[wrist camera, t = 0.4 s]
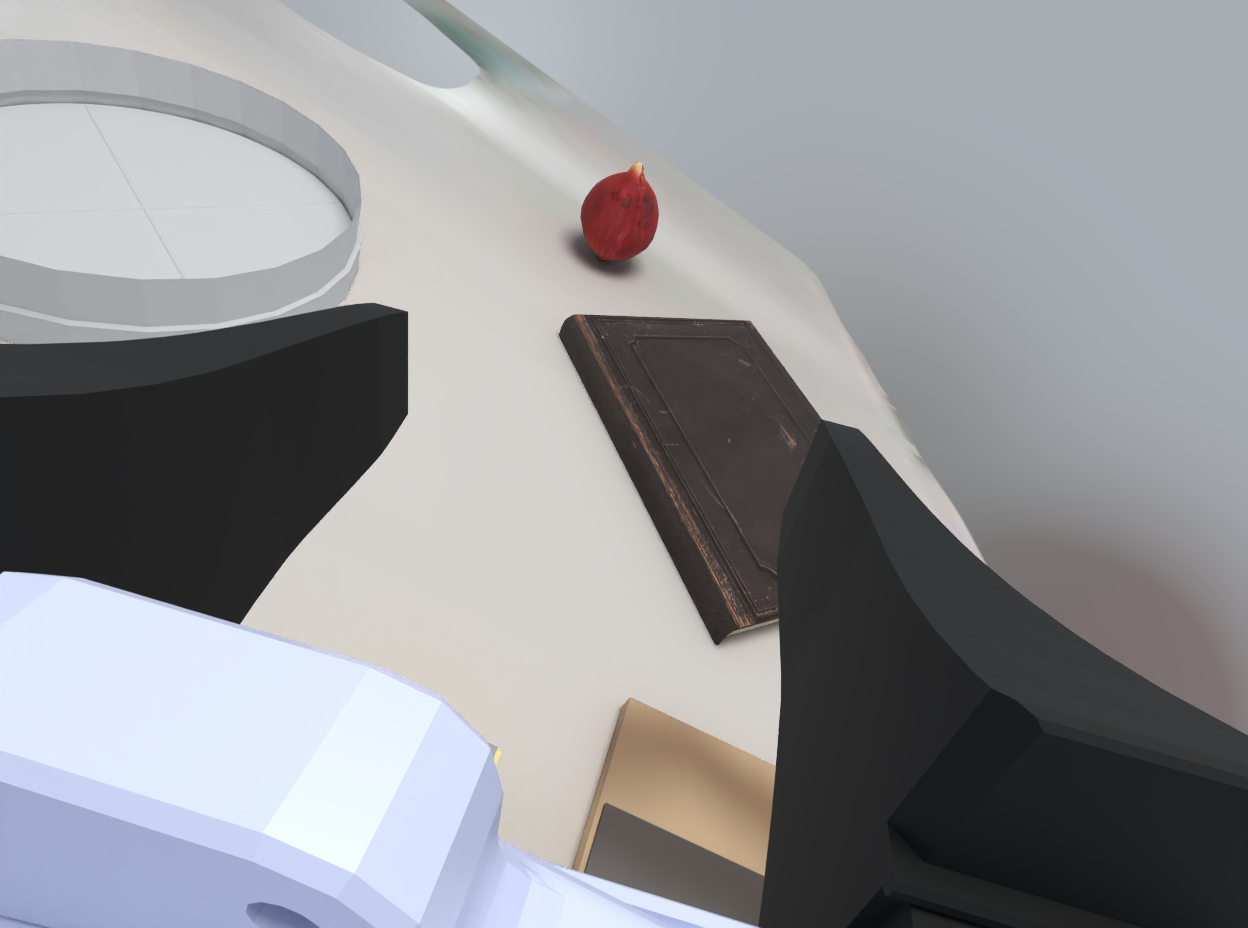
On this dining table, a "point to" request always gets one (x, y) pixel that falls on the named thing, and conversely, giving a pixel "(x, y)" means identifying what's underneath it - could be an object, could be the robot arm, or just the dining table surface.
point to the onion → (620, 215)
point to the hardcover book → (702, 447)
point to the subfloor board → (680, 816)
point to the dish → (160, 199)
